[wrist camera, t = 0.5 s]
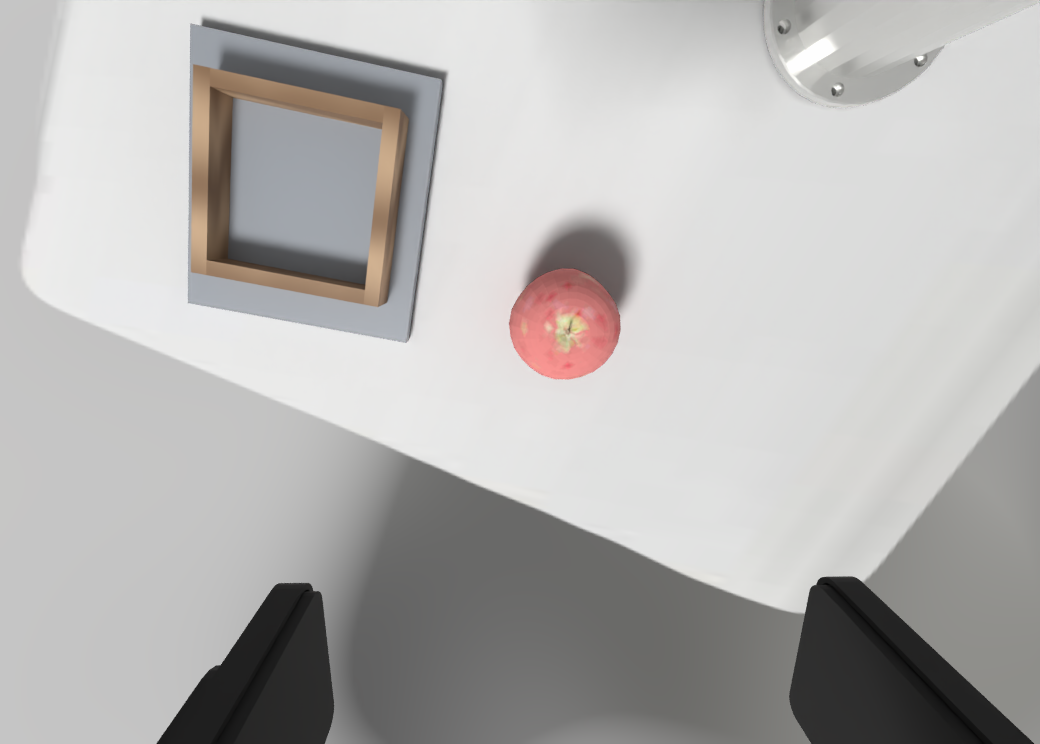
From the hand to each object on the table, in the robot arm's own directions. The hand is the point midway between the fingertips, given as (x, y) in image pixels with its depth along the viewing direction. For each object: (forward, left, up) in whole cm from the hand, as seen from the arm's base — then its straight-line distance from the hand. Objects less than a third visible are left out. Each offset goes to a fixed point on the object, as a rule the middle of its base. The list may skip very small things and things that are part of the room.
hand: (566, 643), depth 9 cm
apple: (-2, +2, -29) cm, 30 cm away
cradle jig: (-7, -17, -29) cm, 34 cm away
